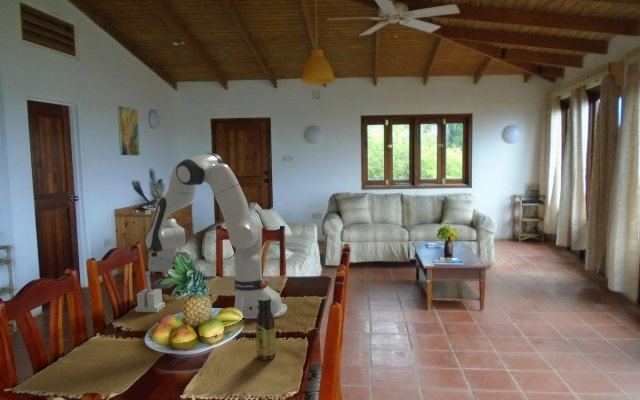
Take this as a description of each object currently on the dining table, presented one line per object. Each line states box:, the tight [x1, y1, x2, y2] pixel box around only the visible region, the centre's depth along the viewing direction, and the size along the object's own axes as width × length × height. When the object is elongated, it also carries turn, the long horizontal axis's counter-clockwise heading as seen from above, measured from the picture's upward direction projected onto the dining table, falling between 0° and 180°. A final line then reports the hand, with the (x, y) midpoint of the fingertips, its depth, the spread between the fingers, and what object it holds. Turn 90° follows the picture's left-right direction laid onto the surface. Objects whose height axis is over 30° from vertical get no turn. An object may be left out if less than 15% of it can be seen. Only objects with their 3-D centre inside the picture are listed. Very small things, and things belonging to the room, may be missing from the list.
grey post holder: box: [134, 270, 166, 313], centre depth 196 cm, size 10×7×17 cm
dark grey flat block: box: [151, 274, 175, 289], centre depth 212 cm, size 8×13×3 cm, turn 172°
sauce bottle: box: [255, 296, 277, 361], centre depth 146 cm, size 6×6×20 cm
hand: (170, 280), depth 216 cm, fingers closed on dark grey flat block, 2 cm apart
